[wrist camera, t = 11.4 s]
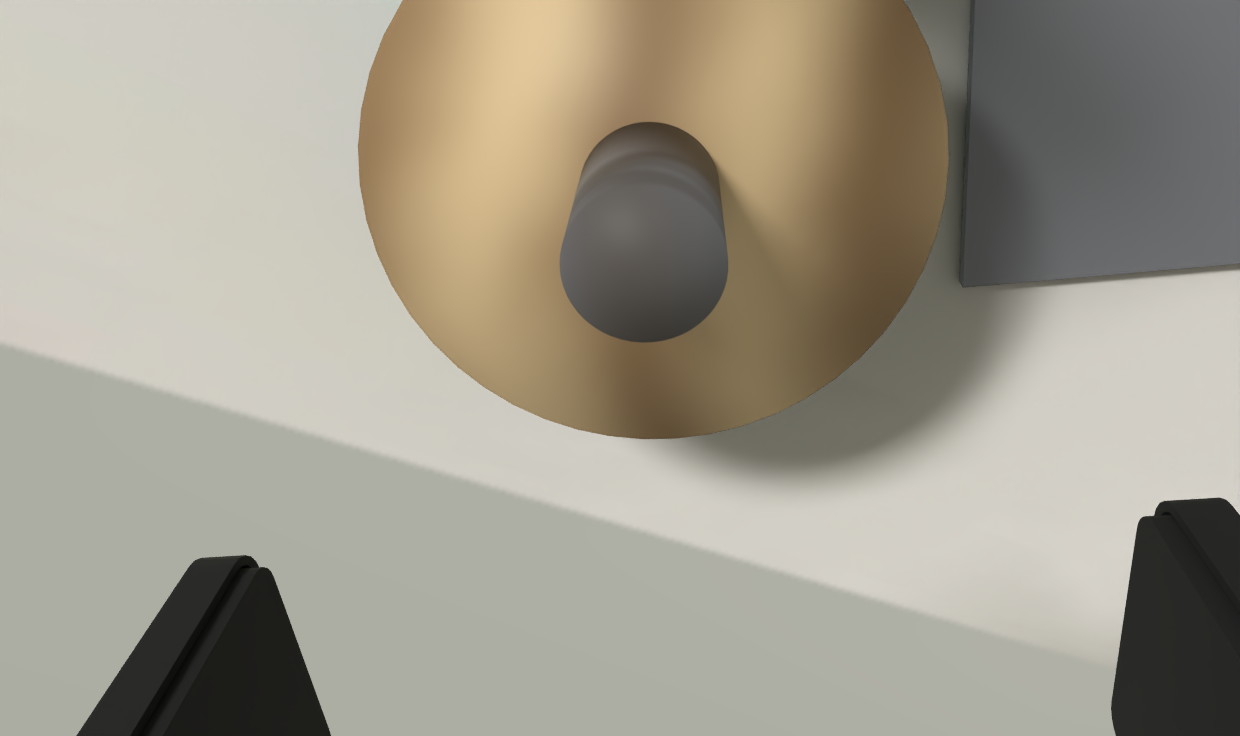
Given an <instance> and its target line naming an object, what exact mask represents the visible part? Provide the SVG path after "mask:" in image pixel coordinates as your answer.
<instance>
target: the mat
mask: <svg viewBox="0 0 1240 736" xmlns="http://www.w3.org/2000/svg"><path fill="white" fill-rule="evenodd" d="M1230 264H1240V0H971V15H970V39H969V64H968V88H967V112H966V137H965V161H964V186H963V210H962V235H961V259H960V283H961V285H962V287H963V288H964V287H976V286H987V285H999V284H1010V283H1022V282H1033V281H1045V280H1057V279H1068V278H1080V277H1091V276H1103V275H1114V274H1126V273H1137V272H1149V271H1160V270H1172V269H1183V268H1195V267H1206V266H1218V265H1230Z"/></svg>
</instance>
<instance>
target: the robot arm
mask: <svg viewBox="0 0 1240 736" xmlns="http://www.w3.org/2000/svg"><path fill="white" fill-rule="evenodd" d="M1111 706H1112V707H1111V711H1112V720H1113V726H1114V730H1115V734H1116V736H1240V515H1239V514H1238V512H1237V511H1236V510H1235V509H1234V507H1233V506H1232V505H1231V504H1230V503H1229V502H1228V501H1227V500H1225V499H1222V498H1207V499H1190V500H1174V501H1163V502H1161V503H1159V505H1158V507H1157V508H1156V511H1155V515H1154V516H1145V517H1142V518H1141V519H1140V521H1139V523H1138V527H1137V532H1136V539H1135V546H1134V552H1133V559H1132V566H1131V573H1130V580H1129V587H1128V593H1127V600H1126V607H1125V614H1124V621H1123V627H1122V634H1121V641H1120V648H1119V655H1118V662H1117V668H1116V675H1115V682H1114V689H1113V696H1112V705H1111ZM77 736H331V735H330V731H329V728H328V725H327V723H326V720H325V717H324V714H323V711H322V709H321V706H320V703H319V700H318V698H317V695H316V692H315V689H314V687H313V684H312V681H311V678H310V676H309V673H308V670H307V668H306V665H305V662H304V659H303V656H302V654H301V651H300V648H299V645H298V643H297V640H296V637H295V634H294V631H293V629H292V626H291V624H290V620H289V618H288V615H287V612H286V609H285V607H284V604H283V601H282V598H281V596H280V593H279V590H278V588H277V585H276V582H275V579H274V577H273V575H272V573H271V571H270V570H269V569H268V568H265V567H260V568H259V566H258V564H257V562H256V561H255V560H254V559H253V558H252V557H251V556H246V555H243V556H226V557H209V558H200V559H197V560H195V561H194V562H193V563H192V564H191V565H190V566H189V568H188V569H187V571H186V572H185V574H184V575H183V577H182V578H181V580H180V581H179V583H178V584H177V586H176V587H175V589H174V590H173V592H172V593H171V595H170V596H169V598H168V599H167V601H166V602H165V604H164V605H163V607H162V608H161V610H160V611H159V613H158V614H157V616H156V617H155V619H154V620H153V622H152V623H151V625H150V626H149V628H148V629H147V631H146V632H145V634H144V635H143V637H142V638H141V640H140V641H139V643H138V644H137V646H136V647H135V649H134V650H133V652H132V653H131V655H130V656H129V658H128V659H127V661H126V662H125V664H124V665H123V667H122V668H121V670H120V671H119V673H118V674H117V676H116V677H115V679H114V680H113V682H112V683H111V685H110V686H109V688H108V689H107V691H106V692H105V694H104V695H103V697H102V698H101V700H100V701H99V703H98V704H97V706H96V707H95V709H94V710H93V712H92V713H91V715H90V716H89V718H88V719H87V721H86V723H85V724H84V725H83V727H82V728H81V730H80V731H79V733H78V734H77Z"/></svg>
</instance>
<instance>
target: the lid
mask: <svg viewBox="0 0 1240 736" xmlns="http://www.w3.org/2000/svg"><path fill="white" fill-rule="evenodd" d="M358 155H359V176H360V187H361V193H362V198H363V204H364V209H365V215H366V220H367V223H368V226H369V229H370V233H371V236H372V239H373V242H374V245H375V248H376V251H377V254H378V257H379V259H380V261H381V263H382V265H383V267H384V269H385V272H386V274H387V276H388V278H389V280H390V282H391V285H392V286H393V288H394V290H395V291H396V293H397V294H398V296H399V298H400V299H401V301H402V302H403V304H404V306H405V307H406V309H407V310H408V312H409V314H410V315H411V317H412V318H413V319H414V320H415V322H416V323H417V324H418V325H419V326H420V328H421V329H422V330H423V331H424V333H425V334H426V335H427V336H428V338H429V339H430V340H431V341H432V343H433V344H435V345H436V346H437V347H438V348H439V349H440V350H441V351H442V352H443V353H444V354H445V355H446V356H447V357H448V358H449V359H450V360H451V361H452V362H453V363H454V364H455V365H456V366H457V367H458V368H460V369H461V370H462V371H464V372H465V373H466V374H468V375H469V376H470V377H471V378H473V379H474V380H475V381H477V382H478V383H479V384H481V385H482V386H483V387H485V388H486V389H488V390H490V391H491V392H493V393H495V394H496V395H498V396H500V397H501V398H503V399H505V400H506V401H508V402H510V403H511V404H513V405H515V406H517V407H519V408H522V409H524V410H526V411H528V412H530V413H533V414H535V415H537V416H539V417H541V418H544V419H546V420H550V421H553V422H556V423H559V424H562V425H565V426H568V427H571V428H574V429H578V430H583V431H588V432H592V433H597V434H602V435H607V436H615V437H626V438H637V439H670V438H683V437H691V436H698V435H706V434H712V433H716V432H720V431H724V430H728V429H732V428H736V427H740V426H744V425H747V424H749V423H752V422H755V421H757V420H760V419H763V418H765V417H768V416H771V415H774V414H776V413H778V412H780V411H782V410H784V409H786V408H788V407H790V406H792V405H794V404H796V403H798V402H800V401H802V400H804V399H805V398H807V397H808V396H810V395H812V394H813V393H815V392H816V391H818V390H819V389H821V388H822V387H824V386H825V385H827V384H828V383H830V382H831V381H833V380H834V379H835V378H837V377H838V376H839V375H840V374H841V373H842V372H844V371H845V370H846V369H847V368H848V367H850V366H851V365H852V364H853V363H854V362H855V361H857V360H858V359H859V358H860V357H861V356H862V355H863V354H864V353H865V352H866V351H867V350H868V349H869V348H870V347H871V345H872V344H873V343H874V342H875V341H876V340H877V339H878V338H879V337H880V336H881V335H882V334H883V332H884V331H885V330H886V329H887V327H888V326H889V325H890V323H891V322H892V320H893V319H894V318H895V316H896V315H897V313H898V312H899V311H900V309H901V308H902V306H903V305H904V304H905V302H906V301H907V299H908V297H909V295H910V293H911V291H912V290H913V288H914V286H915V284H916V282H917V280H918V279H919V277H920V275H921V273H922V271H923V269H924V266H925V264H926V261H927V259H928V256H929V253H930V251H931V248H932V246H933V243H934V240H935V238H936V235H937V231H938V227H939V222H940V218H941V214H942V210H943V206H944V202H945V195H946V185H947V175H948V165H949V153H948V125H947V118H946V112H945V107H944V101H943V96H942V90H941V84H940V81H939V78H938V75H937V72H936V69H935V66H934V63H933V60H932V57H931V54H930V51H929V48H928V45H927V43H926V41H925V39H924V37H923V35H922V33H921V31H920V29H919V27H918V25H917V23H916V21H915V19H914V17H913V15H912V13H911V11H910V9H909V8H908V7H907V5H906V4H905V2H904V1H903V0H403V1H402V3H401V5H400V6H399V8H398V10H397V12H396V14H395V16H394V17H393V19H392V21H391V23H390V25H389V26H388V28H387V30H386V32H385V34H384V36H383V39H382V41H381V44H380V46H379V49H378V52H377V54H376V57H375V60H374V62H373V65H372V67H371V70H370V74H369V78H368V82H367V87H366V91H365V95H364V100H363V104H362V109H361V119H360V131H359V142H358Z"/></svg>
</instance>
